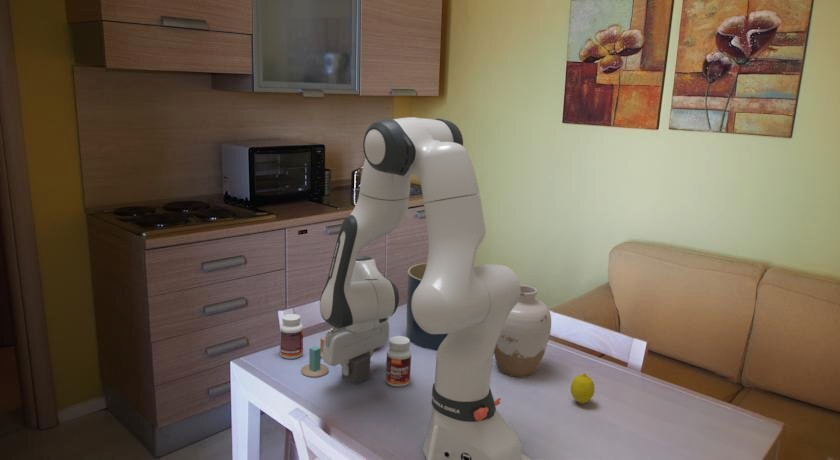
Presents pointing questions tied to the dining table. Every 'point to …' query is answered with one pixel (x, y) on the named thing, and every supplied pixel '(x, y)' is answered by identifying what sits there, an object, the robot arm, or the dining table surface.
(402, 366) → the pill bottle
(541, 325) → the vase
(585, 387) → the fruit
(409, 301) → the planter
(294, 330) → the pill bottle
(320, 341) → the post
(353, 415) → the dining table surface
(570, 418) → the dining table surface
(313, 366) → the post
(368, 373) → the charcoal tapered box
